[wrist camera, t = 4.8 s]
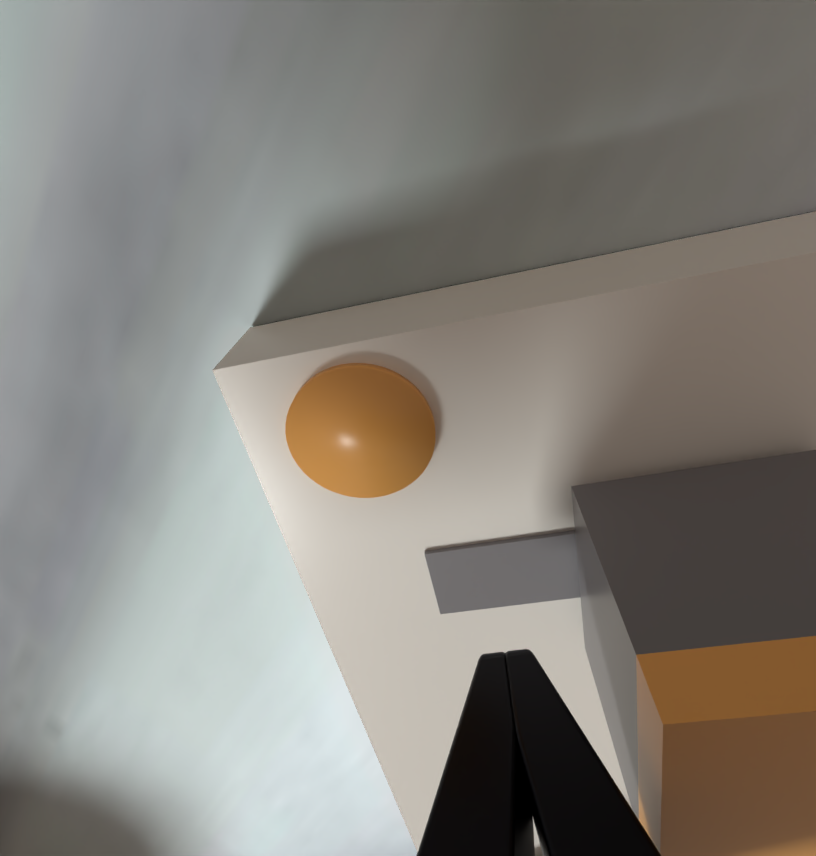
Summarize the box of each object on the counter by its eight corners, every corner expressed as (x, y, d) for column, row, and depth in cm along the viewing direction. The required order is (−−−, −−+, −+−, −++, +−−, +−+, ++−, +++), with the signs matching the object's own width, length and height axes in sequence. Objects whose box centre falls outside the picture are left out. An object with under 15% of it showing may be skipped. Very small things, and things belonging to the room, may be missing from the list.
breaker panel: (890, 832, 18) (945, 917, 16) (448, 858, 20) (450, 935, 18) (1193, 133, 8) (1431, 138, 6) (249, 327, 10) (208, 375, 8)
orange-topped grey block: (801, 623, 10) (994, 885, 7) (584, 647, 11) (659, 901, 7) (837, 446, 8) (1134, 683, 5) (571, 486, 9) (663, 724, 5)
